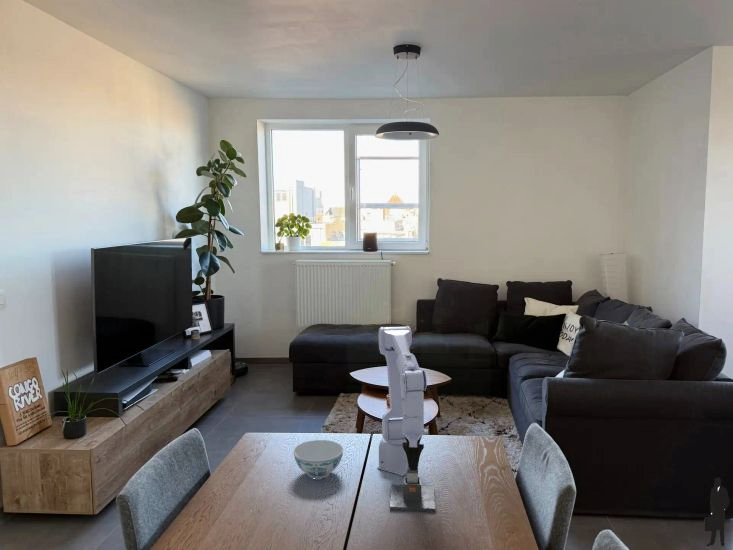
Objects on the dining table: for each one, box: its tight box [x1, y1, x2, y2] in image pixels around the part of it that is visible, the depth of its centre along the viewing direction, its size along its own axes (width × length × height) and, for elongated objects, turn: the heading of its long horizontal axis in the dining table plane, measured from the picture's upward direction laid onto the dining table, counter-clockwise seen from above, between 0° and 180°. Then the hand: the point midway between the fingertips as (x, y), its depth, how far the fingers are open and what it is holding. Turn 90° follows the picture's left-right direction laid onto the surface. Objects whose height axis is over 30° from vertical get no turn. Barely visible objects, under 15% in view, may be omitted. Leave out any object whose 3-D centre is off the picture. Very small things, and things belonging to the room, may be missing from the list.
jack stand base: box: [389, 475, 436, 513], centre depth 145 cm, size 12×12×6 cm
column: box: [406, 466, 419, 484], centre depth 145 cm, size 3×3×8 cm
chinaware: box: [293, 439, 344, 480], centre depth 160 cm, size 15×15×8 cm
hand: (413, 462), depth 144 cm, fingers open, 7 cm apart
